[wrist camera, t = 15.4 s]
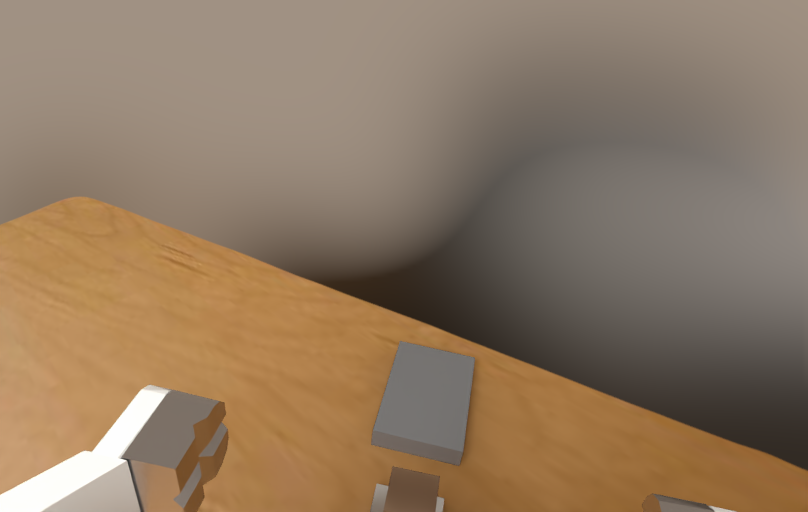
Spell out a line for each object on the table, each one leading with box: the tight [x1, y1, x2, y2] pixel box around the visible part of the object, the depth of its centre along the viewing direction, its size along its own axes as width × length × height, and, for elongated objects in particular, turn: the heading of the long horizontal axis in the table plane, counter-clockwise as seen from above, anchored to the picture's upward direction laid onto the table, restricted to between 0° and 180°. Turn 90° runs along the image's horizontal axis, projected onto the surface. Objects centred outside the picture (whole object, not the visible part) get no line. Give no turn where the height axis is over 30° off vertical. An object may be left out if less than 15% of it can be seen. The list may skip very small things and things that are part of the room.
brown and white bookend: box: [370, 466, 444, 512], centre depth 37 cm, size 10×6×13 cm, turn 170°
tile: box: [371, 341, 475, 466], centre depth 53 cm, size 2×8×12 cm
